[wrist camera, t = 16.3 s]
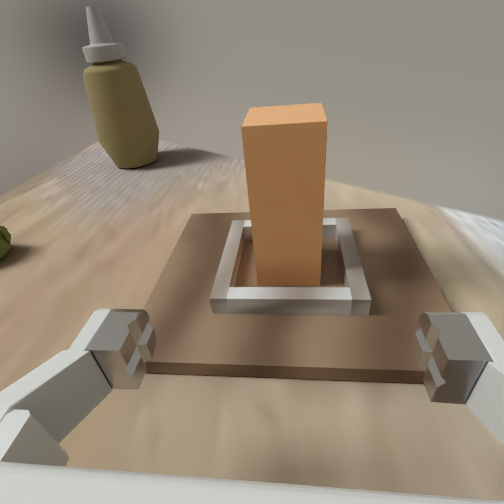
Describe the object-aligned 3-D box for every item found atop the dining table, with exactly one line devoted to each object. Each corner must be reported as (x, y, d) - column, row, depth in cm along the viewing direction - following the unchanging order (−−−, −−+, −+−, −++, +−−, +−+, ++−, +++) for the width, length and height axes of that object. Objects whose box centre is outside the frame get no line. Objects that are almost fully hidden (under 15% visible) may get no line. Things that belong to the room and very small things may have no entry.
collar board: (122, 371, 18) (109, 345, 17) (194, 223, 31) (189, 202, 30) (478, 385, 15) (494, 356, 14) (393, 218, 28) (398, 195, 27)
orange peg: (257, 285, 21) (241, 126, 15) (262, 250, 24) (250, 107, 19) (320, 285, 21) (327, 121, 15) (316, 249, 24) (321, 102, 18)
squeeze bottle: (140, 175, 43) (89, 2, 32) (95, 170, 46) (36, 11, 35) (176, 154, 48) (142, 2, 38) (134, 151, 52) (93, 10, 41)
